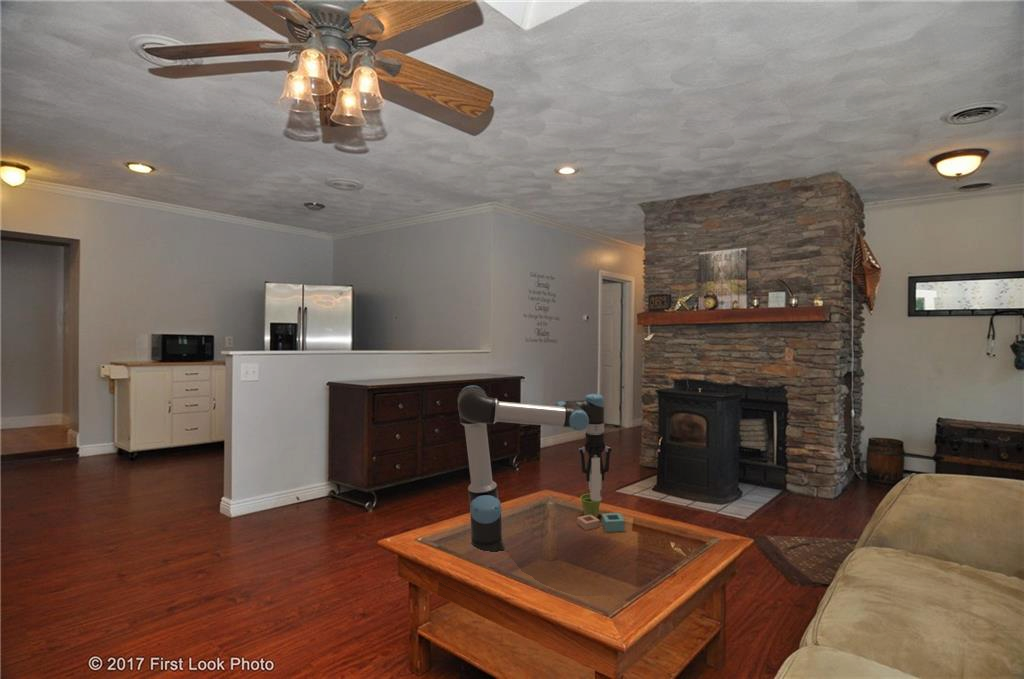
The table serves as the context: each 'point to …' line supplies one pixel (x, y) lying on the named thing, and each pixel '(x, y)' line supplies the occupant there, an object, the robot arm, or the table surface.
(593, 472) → the light grey post
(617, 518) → the teal square hollow block
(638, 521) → the table surface
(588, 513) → the plant pot
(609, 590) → the table surface
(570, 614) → the table surface
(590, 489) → the robot arm
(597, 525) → the beige square hollow block
